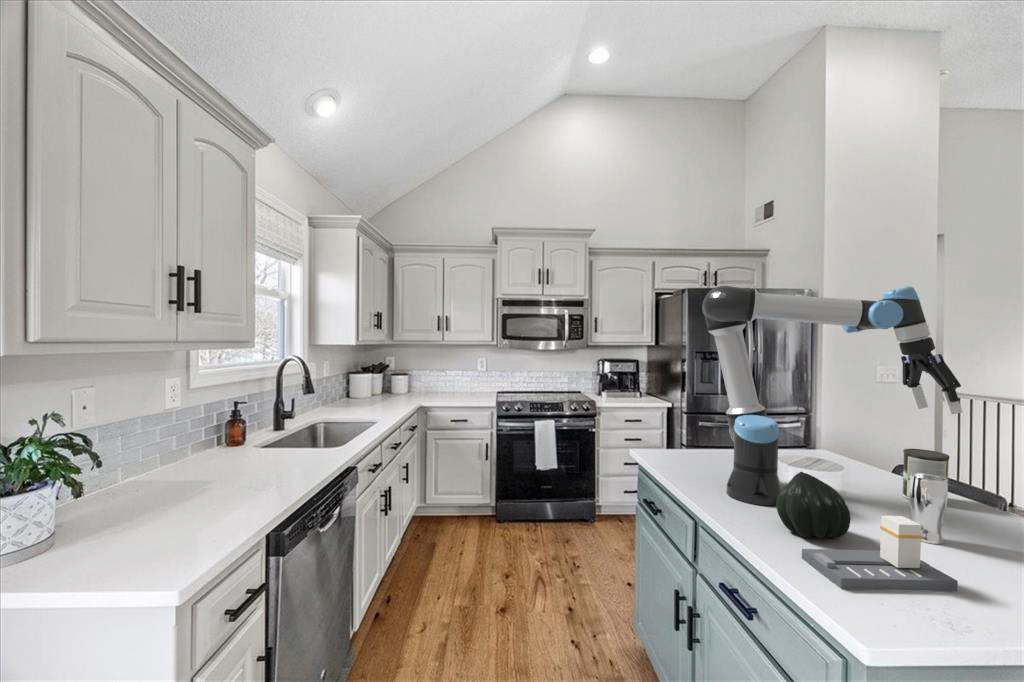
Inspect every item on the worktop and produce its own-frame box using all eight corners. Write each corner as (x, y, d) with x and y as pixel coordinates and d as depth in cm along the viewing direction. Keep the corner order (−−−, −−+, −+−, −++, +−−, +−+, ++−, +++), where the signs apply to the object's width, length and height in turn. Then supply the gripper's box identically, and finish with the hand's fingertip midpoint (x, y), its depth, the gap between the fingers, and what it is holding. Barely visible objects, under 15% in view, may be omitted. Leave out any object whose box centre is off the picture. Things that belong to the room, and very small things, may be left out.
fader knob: (901, 557, 96) (902, 516, 96) (920, 568, 91) (922, 525, 91) (879, 556, 96) (880, 515, 96) (897, 567, 91) (898, 524, 91)
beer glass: (936, 535, 113) (938, 474, 113) (952, 547, 106) (955, 482, 106) (901, 530, 115) (903, 470, 115) (915, 542, 109) (917, 479, 108)
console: (903, 560, 100) (904, 546, 99) (957, 591, 88) (957, 575, 87) (801, 558, 100) (802, 544, 100) (841, 588, 88) (841, 572, 88)
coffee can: (893, 492, 144) (894, 447, 144) (929, 494, 143) (930, 449, 143) (919, 504, 134) (920, 456, 134) (957, 506, 133) (959, 458, 133)
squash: (865, 531, 101) (845, 467, 111) (788, 525, 105) (775, 464, 115) (845, 552, 111) (828, 492, 121) (776, 546, 115) (765, 488, 125)
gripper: (961, 333, 121) (988, 412, 120) (901, 337, 146) (923, 403, 144) (929, 341, 123) (956, 419, 121) (875, 344, 147) (897, 409, 145)
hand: (938, 410), depth 132 cm, fingers open, 13 cm apart
